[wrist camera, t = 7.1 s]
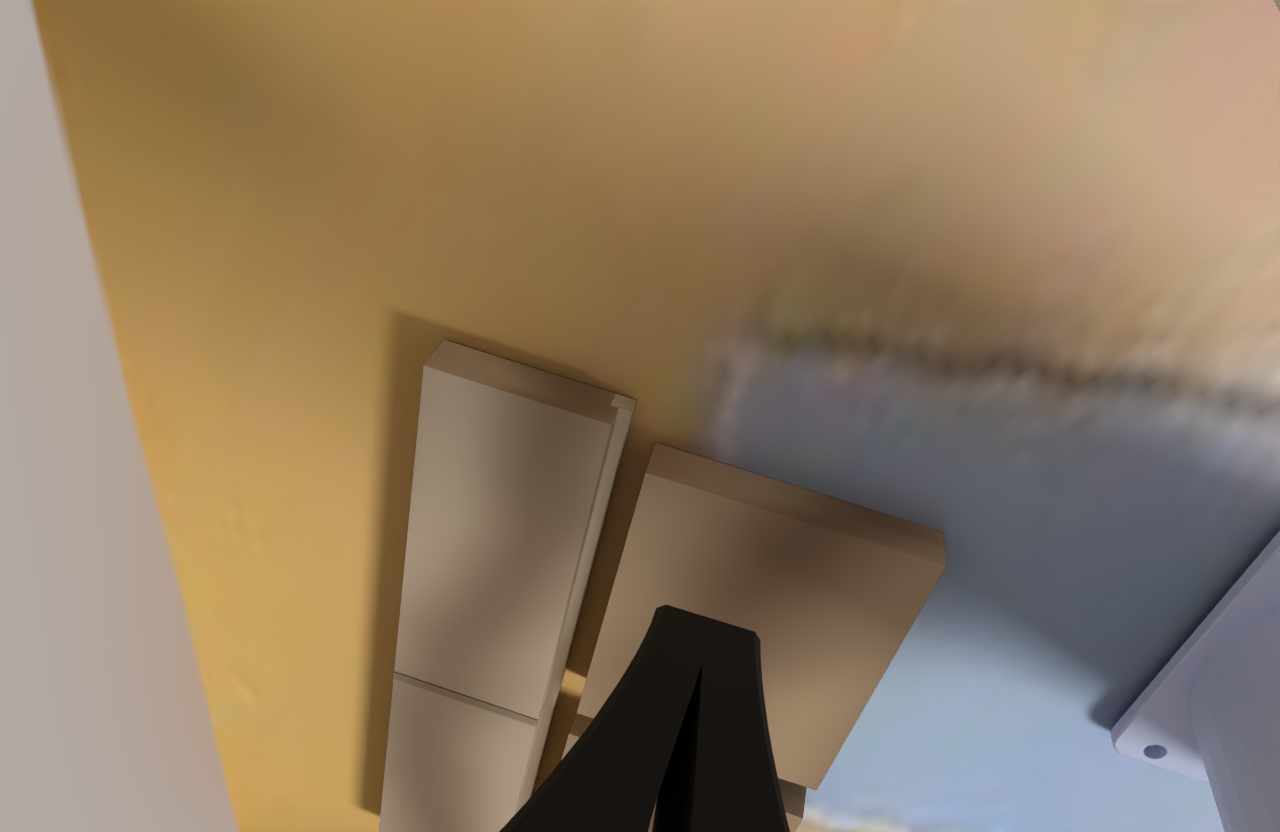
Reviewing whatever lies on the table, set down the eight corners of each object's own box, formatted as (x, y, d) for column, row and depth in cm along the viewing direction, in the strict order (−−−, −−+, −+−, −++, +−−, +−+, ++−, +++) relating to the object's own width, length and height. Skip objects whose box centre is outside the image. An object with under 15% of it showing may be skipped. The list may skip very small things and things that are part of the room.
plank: (943, 530, 22) (946, 565, 21) (818, 754, 27) (816, 790, 26) (655, 442, 22) (645, 473, 21) (587, 679, 28) (576, 712, 27)
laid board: (636, 399, 22) (623, 430, 21) (514, 864, 34) (502, 897, 33) (444, 339, 22) (422, 366, 21) (391, 821, 34) (375, 853, 33)
